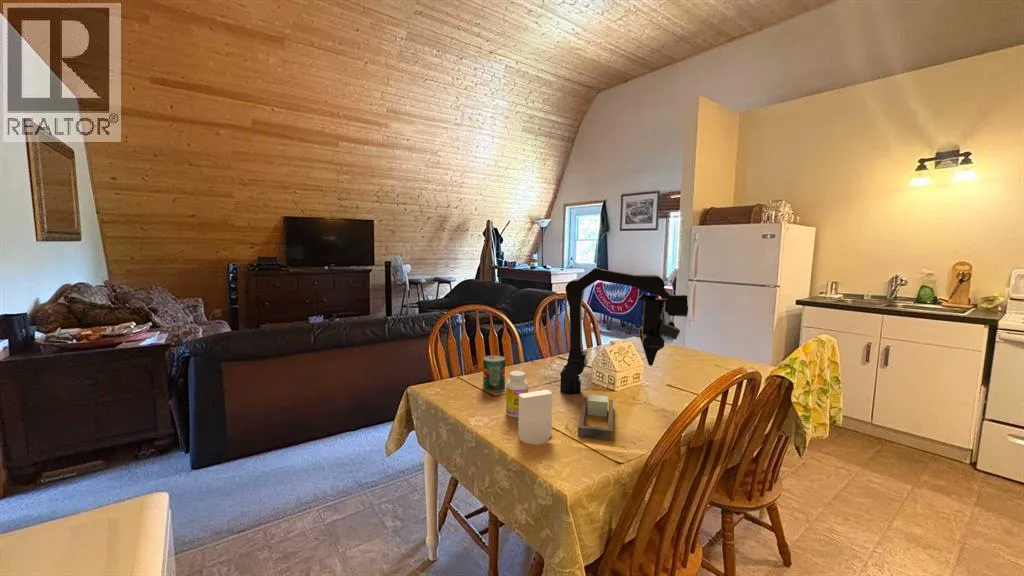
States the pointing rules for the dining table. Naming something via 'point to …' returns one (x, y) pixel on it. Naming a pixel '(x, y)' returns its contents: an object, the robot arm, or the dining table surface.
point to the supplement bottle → (515, 392)
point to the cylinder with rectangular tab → (535, 417)
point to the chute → (594, 431)
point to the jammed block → (597, 405)
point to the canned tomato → (494, 373)
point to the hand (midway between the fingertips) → (649, 361)
